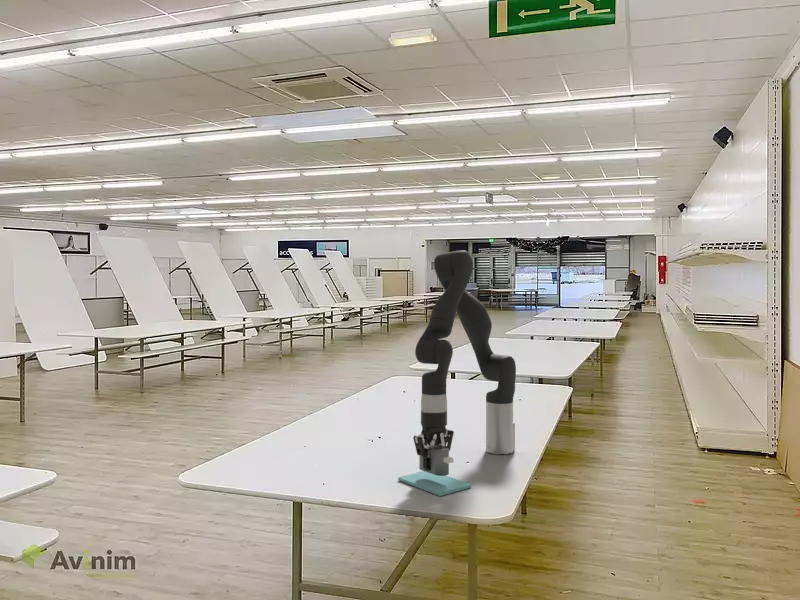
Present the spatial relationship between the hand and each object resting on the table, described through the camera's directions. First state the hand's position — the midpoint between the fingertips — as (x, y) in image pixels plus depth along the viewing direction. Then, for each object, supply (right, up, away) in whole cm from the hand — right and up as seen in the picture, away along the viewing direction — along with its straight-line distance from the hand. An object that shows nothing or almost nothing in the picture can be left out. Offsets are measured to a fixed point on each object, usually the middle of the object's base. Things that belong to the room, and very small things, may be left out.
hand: (433, 468), depth 177 cm
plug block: (0, -1, 0) cm, 1 cm away
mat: (0, -4, 0) cm, 4 cm away
